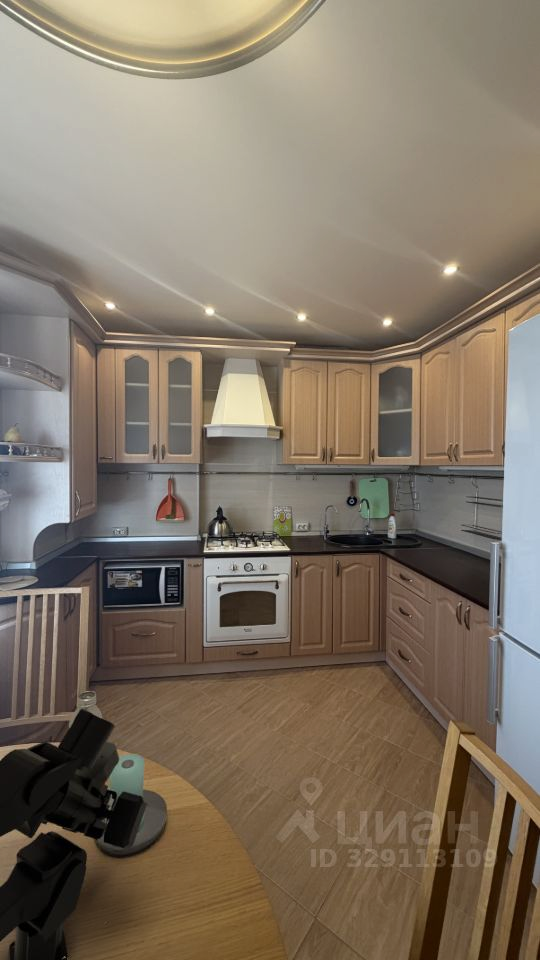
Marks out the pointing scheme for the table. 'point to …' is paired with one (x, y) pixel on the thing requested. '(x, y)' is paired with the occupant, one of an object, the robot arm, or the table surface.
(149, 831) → the turntable
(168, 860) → the table surface
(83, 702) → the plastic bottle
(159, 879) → the table surface
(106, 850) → the base
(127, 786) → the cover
